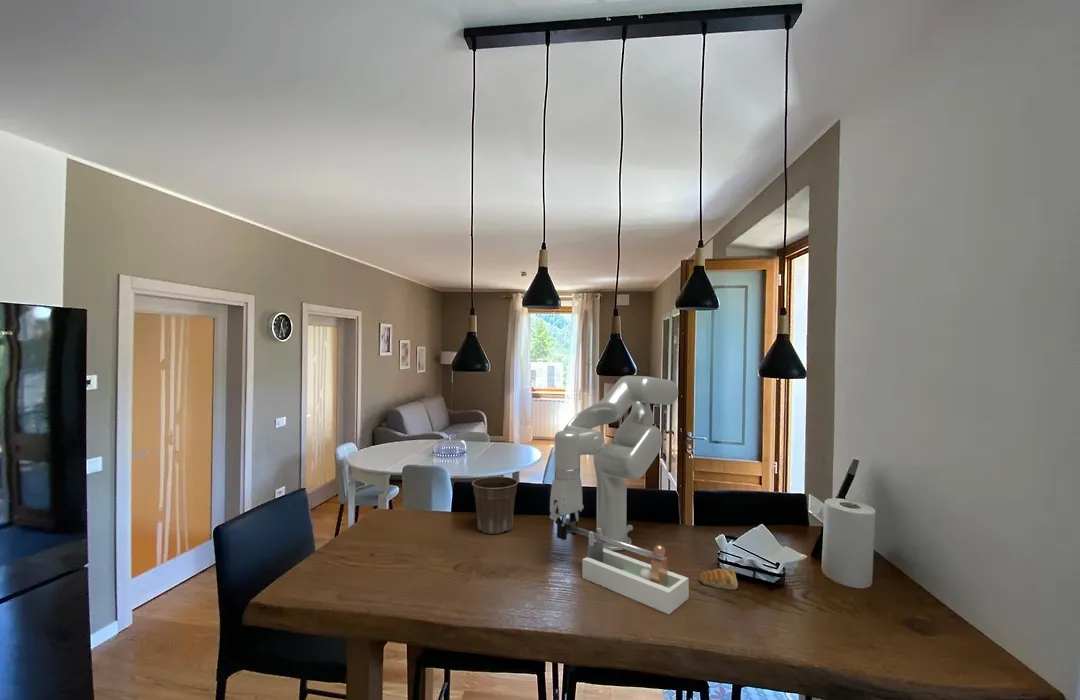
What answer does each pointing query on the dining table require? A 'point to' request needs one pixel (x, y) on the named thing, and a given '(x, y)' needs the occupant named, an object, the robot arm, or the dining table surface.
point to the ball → (646, 573)
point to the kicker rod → (657, 564)
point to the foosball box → (632, 578)
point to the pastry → (719, 579)
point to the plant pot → (495, 503)
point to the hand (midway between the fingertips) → (567, 535)
